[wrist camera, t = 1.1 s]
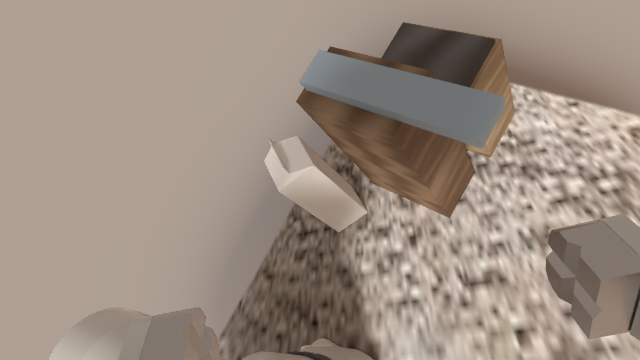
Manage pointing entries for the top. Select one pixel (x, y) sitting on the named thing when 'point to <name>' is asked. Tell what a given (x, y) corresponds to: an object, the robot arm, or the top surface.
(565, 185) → the top surface
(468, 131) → the slat
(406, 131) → the stand
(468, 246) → the top surface
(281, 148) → the milk
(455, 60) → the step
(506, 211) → the top surface
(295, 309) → the top surface
